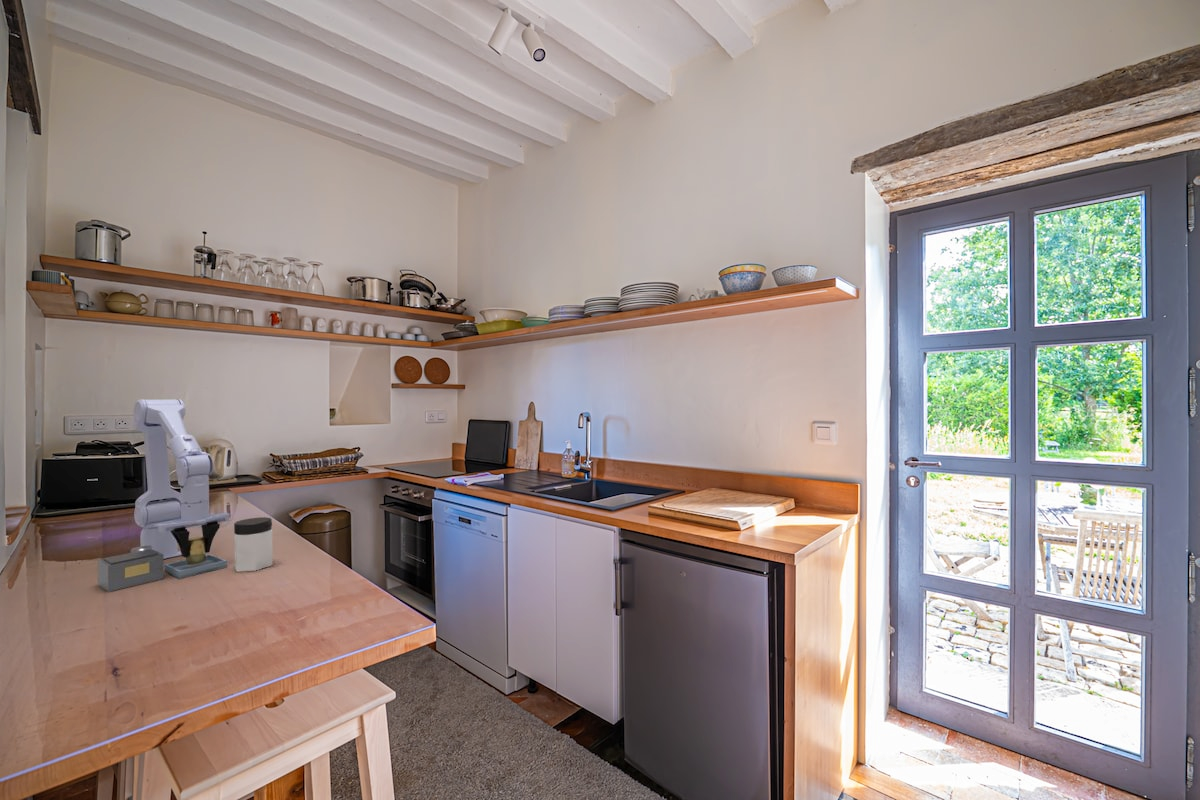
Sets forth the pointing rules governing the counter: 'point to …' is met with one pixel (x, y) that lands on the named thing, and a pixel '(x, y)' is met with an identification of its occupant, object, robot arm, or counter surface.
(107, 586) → the unit
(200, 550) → the part brass
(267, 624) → the counter surface
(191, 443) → the robot arm
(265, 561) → the jar
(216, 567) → the tray
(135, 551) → the part grey
